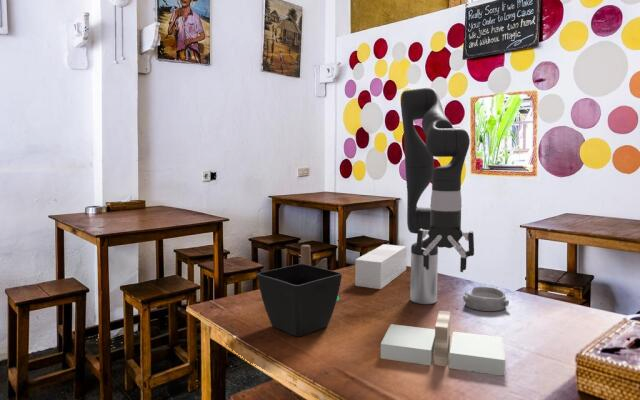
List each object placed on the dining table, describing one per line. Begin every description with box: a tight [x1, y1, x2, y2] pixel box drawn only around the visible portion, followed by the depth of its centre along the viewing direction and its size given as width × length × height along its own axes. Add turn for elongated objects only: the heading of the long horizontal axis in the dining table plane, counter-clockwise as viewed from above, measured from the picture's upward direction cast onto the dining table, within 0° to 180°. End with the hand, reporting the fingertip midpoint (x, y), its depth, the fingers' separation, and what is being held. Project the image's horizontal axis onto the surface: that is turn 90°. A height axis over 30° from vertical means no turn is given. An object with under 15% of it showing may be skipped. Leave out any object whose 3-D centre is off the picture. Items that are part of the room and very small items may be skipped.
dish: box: [462, 286, 510, 312], centre depth 161 cm, size 14×14×5 cm
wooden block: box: [300, 244, 328, 270], centre depth 175 cm, size 4×11×18 cm, turn 53°
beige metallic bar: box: [433, 310, 452, 367], centre depth 123 cm, size 12×3×10 cm, turn 161°
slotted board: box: [380, 323, 506, 377], centre depth 123 cm, size 14×30×4 cm, turn 71°
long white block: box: [354, 243, 407, 290], centre depth 197 cm, size 32×11×11 cm, turn 152°
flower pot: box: [257, 263, 343, 337], centre depth 143 cm, size 19×19×17 cm
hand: (444, 270), depth 121 cm, fingers open, 8 cm apart
